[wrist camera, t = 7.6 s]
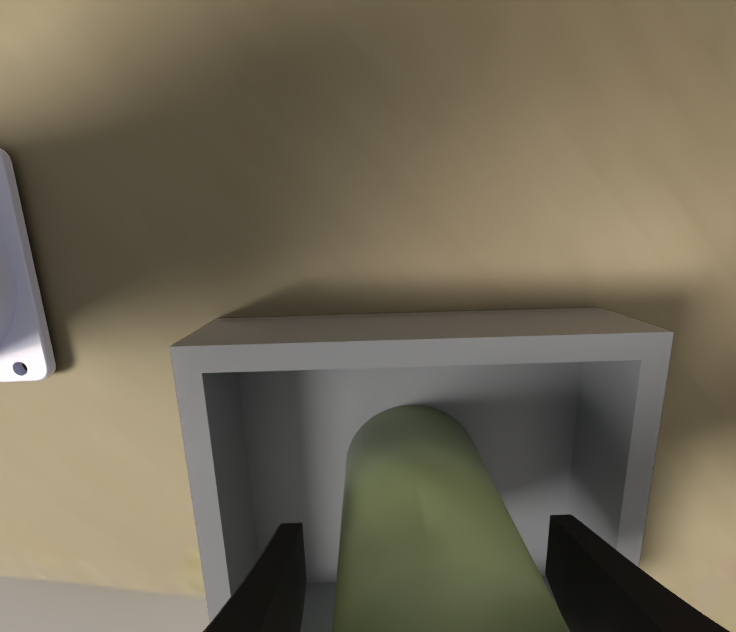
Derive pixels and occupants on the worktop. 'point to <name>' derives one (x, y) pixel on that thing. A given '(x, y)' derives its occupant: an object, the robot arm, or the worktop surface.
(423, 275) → the worktop surface
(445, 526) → the green cylinder
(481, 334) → the grey bin
